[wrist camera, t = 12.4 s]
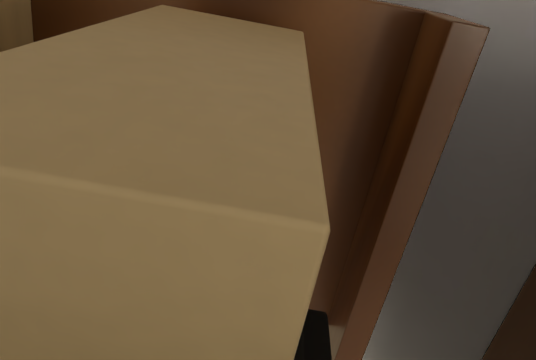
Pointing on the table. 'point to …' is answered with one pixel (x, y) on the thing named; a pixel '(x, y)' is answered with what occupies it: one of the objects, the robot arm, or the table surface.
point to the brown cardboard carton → (517, 327)
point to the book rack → (339, 122)
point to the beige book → (159, 191)
